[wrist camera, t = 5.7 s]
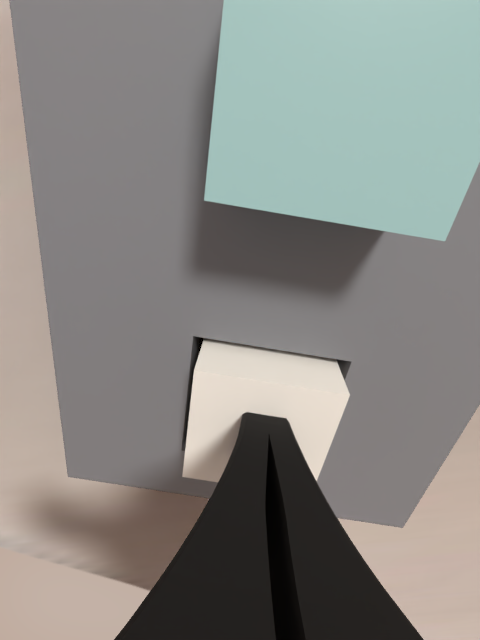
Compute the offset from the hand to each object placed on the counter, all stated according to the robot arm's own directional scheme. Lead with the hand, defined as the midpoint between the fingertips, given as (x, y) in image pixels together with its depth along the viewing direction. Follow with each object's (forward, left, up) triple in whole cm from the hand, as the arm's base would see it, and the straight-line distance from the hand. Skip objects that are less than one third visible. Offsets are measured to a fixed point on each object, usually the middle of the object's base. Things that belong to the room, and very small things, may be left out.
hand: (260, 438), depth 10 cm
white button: (0, 0, -3) cm, 3 cm away
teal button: (0, +9, -2) cm, 9 cm away
